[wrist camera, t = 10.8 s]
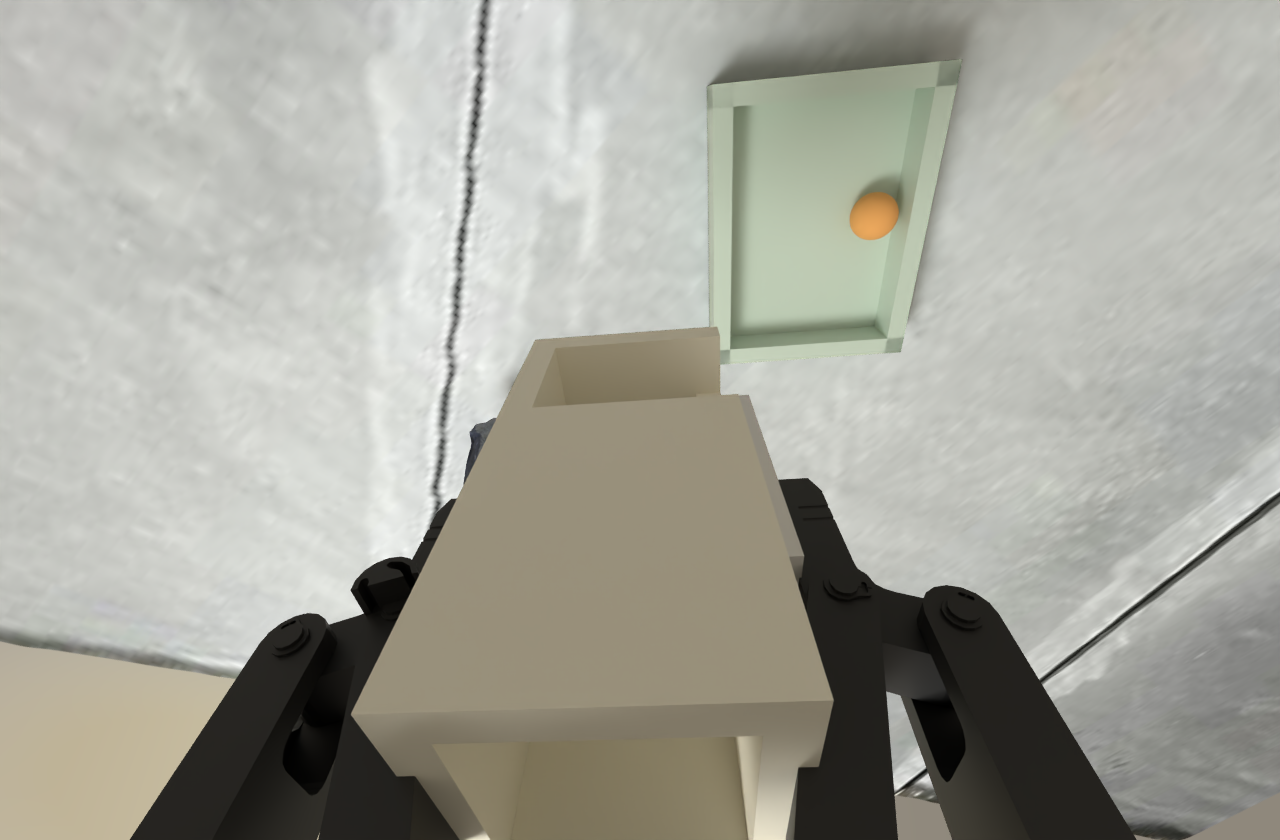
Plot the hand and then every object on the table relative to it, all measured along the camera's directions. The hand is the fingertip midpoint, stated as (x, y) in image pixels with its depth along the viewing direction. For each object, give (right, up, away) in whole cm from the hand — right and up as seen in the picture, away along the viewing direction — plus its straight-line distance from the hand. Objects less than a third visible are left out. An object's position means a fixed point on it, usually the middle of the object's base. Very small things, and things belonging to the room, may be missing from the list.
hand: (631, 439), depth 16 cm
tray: (+12, +15, +20) cm, 28 cm away
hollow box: (0, +1, +2) cm, 2 cm away
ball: (+15, +16, +17) cm, 28 cm away
